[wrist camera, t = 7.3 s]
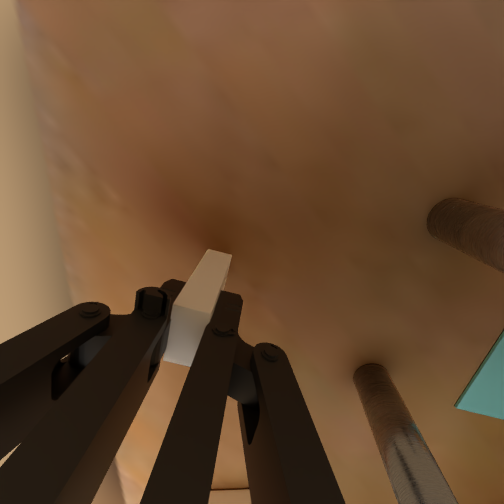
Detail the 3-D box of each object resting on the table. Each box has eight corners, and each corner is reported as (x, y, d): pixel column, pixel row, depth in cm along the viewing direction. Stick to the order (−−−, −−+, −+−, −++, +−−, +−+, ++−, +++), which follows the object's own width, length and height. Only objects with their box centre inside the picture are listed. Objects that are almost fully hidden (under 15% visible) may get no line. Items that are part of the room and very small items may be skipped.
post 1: (394, 368, 21) (477, 513, 13) (380, 394, 22) (449, 546, 14) (360, 360, 21) (421, 500, 13) (348, 386, 22) (397, 534, 13)
